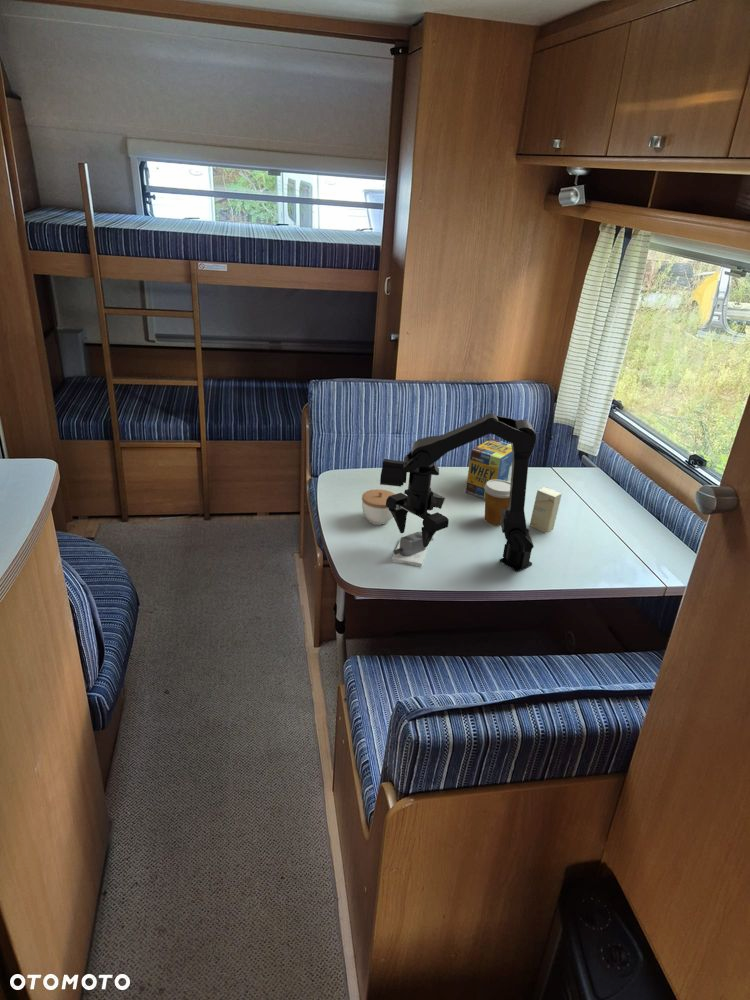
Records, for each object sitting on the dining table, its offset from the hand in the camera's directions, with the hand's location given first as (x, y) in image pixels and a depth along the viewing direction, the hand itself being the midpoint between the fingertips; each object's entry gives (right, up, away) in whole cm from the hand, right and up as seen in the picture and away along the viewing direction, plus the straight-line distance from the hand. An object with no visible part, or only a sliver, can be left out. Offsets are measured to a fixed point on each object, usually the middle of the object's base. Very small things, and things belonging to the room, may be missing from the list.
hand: (413, 539), depth 177 cm
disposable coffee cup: (+26, +4, +23) cm, 35 cm away
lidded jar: (-9, +4, +18) cm, 21 cm away
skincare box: (+40, +2, +21) cm, 46 cm away
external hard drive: (-1, -4, +2) cm, 5 cm away
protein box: (+28, +14, +44) cm, 54 cm away
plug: (0, -3, +1) cm, 3 cm away
